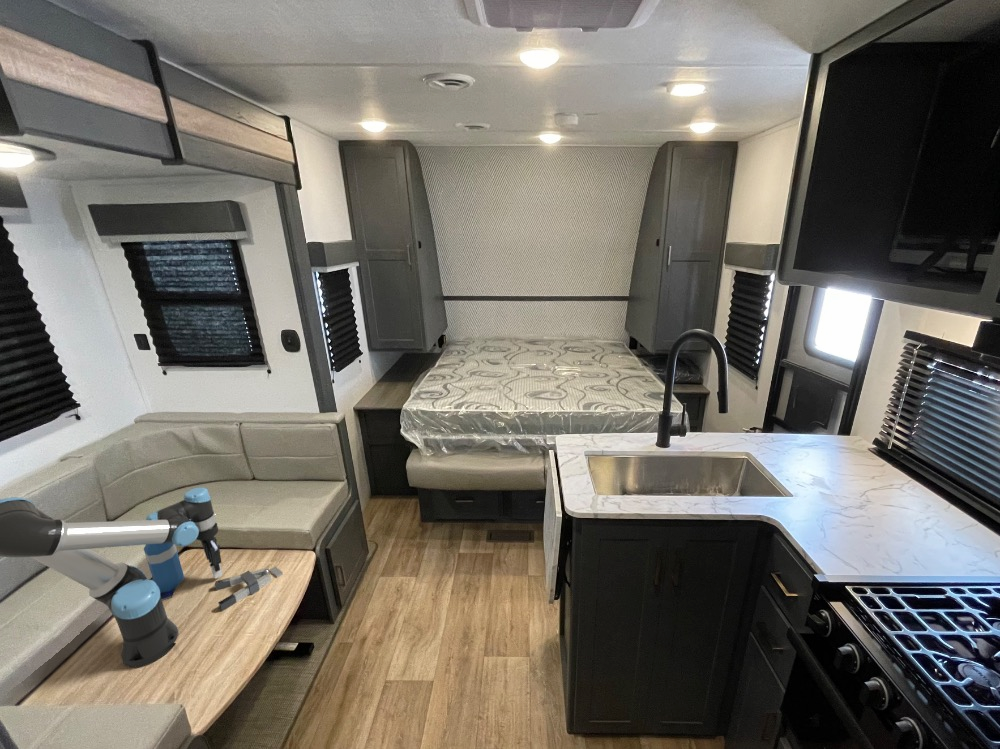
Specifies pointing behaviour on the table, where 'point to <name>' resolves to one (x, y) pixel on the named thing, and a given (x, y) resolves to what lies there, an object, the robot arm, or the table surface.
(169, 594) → the smartphone
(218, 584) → the arm
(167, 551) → the water bottle
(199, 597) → the table surface
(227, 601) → the tongs fixed
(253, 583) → the collar
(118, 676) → the table surface
